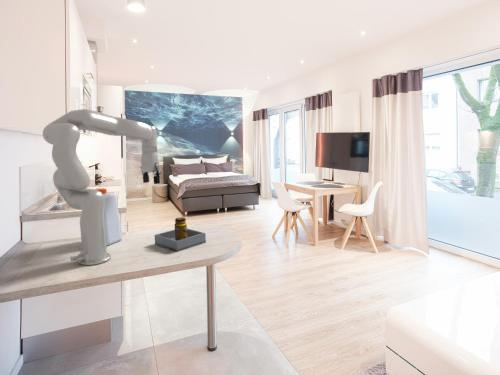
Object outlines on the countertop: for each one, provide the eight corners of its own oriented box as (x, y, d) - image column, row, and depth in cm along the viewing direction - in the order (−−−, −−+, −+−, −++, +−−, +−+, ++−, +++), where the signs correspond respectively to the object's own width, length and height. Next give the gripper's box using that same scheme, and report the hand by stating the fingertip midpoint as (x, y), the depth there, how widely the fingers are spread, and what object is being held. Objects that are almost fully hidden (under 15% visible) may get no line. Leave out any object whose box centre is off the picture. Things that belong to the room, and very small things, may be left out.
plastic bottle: (81, 245, 160) (76, 190, 157) (103, 236, 175) (99, 186, 171) (104, 247, 156) (100, 191, 152) (125, 239, 170) (122, 187, 166)
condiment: (190, 241, 161) (189, 218, 160) (176, 245, 156) (175, 221, 154) (183, 238, 167) (182, 216, 165) (168, 241, 161) (167, 218, 159)
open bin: (177, 251, 149) (176, 241, 148) (155, 244, 160) (154, 234, 159) (205, 242, 162) (205, 232, 162) (183, 236, 174) (182, 227, 173)
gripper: (133, 150, 165) (135, 182, 167) (152, 150, 154) (154, 185, 156) (146, 149, 171) (148, 181, 173) (165, 150, 160) (167, 183, 162)
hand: (151, 183), depth 165 cm, fingers open, 9 cm apart
